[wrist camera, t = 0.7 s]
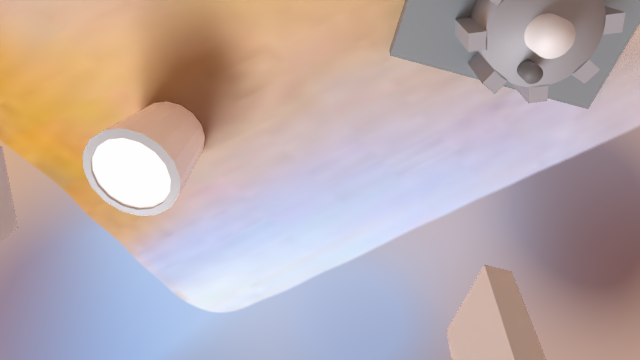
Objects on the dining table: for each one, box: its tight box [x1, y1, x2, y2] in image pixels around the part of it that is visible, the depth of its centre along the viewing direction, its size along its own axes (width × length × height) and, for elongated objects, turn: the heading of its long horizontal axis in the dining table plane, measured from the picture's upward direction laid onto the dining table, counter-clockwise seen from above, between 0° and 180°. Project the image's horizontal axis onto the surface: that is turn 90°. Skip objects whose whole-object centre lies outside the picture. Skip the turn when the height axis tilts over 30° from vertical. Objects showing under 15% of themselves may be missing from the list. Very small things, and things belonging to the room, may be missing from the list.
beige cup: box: [83, 101, 205, 216], centre depth 32 cm, size 7×7×7 cm
